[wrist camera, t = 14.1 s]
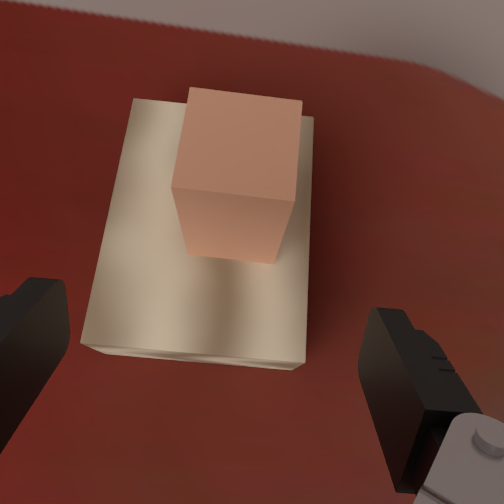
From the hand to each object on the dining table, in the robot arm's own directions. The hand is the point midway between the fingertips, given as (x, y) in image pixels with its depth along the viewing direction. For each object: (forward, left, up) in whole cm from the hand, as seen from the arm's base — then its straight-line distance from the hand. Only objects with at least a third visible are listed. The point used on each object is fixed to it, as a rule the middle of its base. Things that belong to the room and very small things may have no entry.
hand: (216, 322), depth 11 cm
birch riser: (-1, +8, -17) cm, 19 cm away
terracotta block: (0, +8, -12) cm, 15 cm away
